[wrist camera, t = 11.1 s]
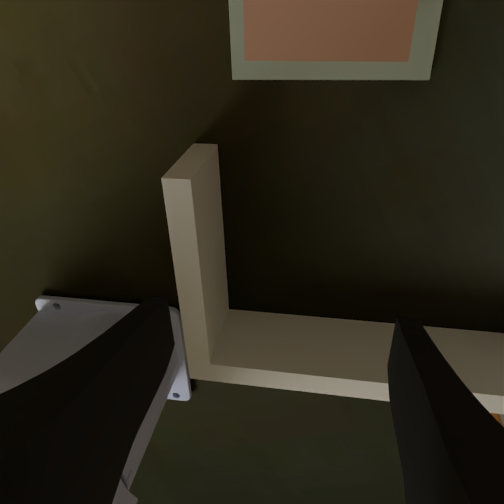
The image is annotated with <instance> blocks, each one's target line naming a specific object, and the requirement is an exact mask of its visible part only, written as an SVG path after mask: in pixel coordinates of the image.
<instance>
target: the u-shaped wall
mask: <svg viewBox="0 0 504 504" xmlns="http://www.w3.org/2000/svg"><path fill="white" fill-rule="evenodd" d="M161 180H162V187H163V194H164V201H165V208H166V215H167V222H168V229H169V236H170V243H171V250H172V257H173V264H174V271H175V278H176V285H177V292H178V299H179V306H180V313H181V320H182V327H183V334H184V341H185V348H186V355H187V362H188V369H189V376H190V378H191V379H200V380H208V381H217V382H226V383H235V384H243V385H252V386H261V387H269V388H278V389H287V390H296V391H304V392H313V393H322V394H330V395H339V396H348V397H357V398H365V399H374V400H383V401H390V399H389V388H388V371H387V365H388V360H389V354H390V349H391V343H392V338H393V333H394V327H395V324H394V323H382V322H371V321H360V320H348V319H337V318H325V317H314V316H302V315H291V314H279V313H268V312H256V311H245V310H234V309H229V302H228V287H227V273H226V258H225V244H224V229H223V215H222V200H221V186H220V171H219V157H218V144H198V143H193V144H192V145H191V146H190V148H189V149H188V150H187V151H186V152H185V153H184V154H183V155H182V156H181V157H180V158H179V159H178V161H177V162H176V163H175V164H174V165H173V166H172V167H171V168H170V169H169V170H168V171H167V172H166V174H165V175H164V176H163V177H162V178H161ZM423 327H424V328H425V330H426V331H427V333H428V334H429V336H430V337H431V339H432V340H433V342H434V343H435V345H436V346H437V348H438V349H439V351H440V352H441V354H442V355H443V356H444V358H445V359H446V361H447V362H448V363H449V364H450V366H451V367H452V368H453V370H454V371H455V372H456V374H457V375H458V376H459V378H460V379H461V380H462V381H463V383H464V384H465V385H466V386H467V388H468V389H469V390H470V391H471V392H472V393H473V395H474V396H475V397H476V398H477V399H478V400H479V402H480V403H481V404H482V405H483V406H484V407H485V408H486V409H487V410H488V411H489V413H496V414H504V333H497V332H486V331H474V330H463V329H451V328H440V327H428V326H423Z"/></svg>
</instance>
